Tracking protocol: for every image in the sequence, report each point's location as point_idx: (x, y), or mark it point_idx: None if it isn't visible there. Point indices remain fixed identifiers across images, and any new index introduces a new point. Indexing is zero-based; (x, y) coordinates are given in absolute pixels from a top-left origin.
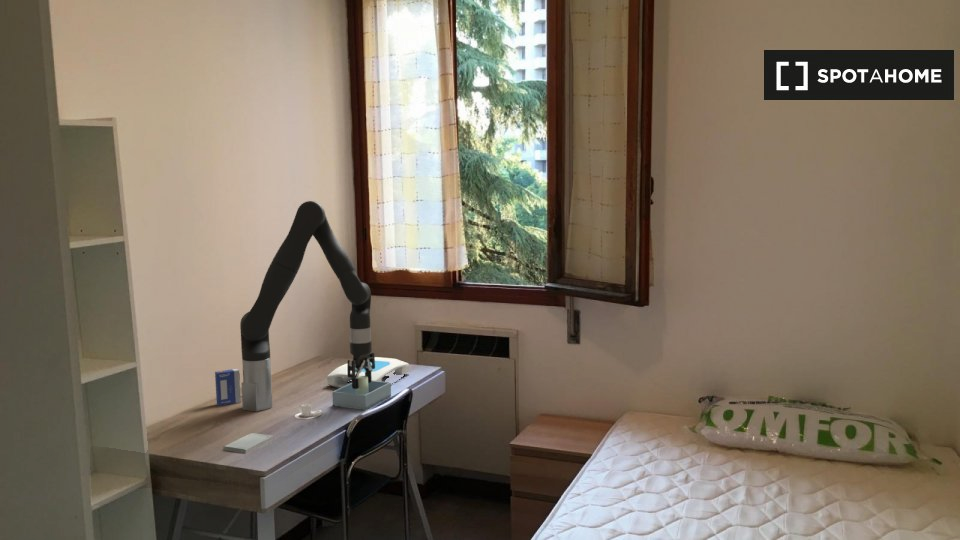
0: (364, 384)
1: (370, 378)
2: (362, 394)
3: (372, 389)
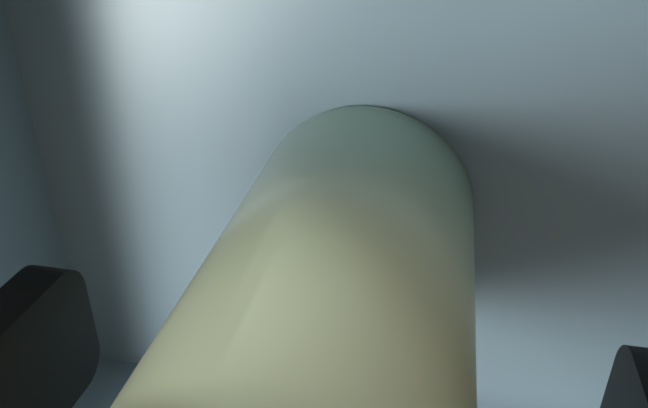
0: (402, 299)
1: (8, 323)
2: (459, 207)
3: (21, 214)
